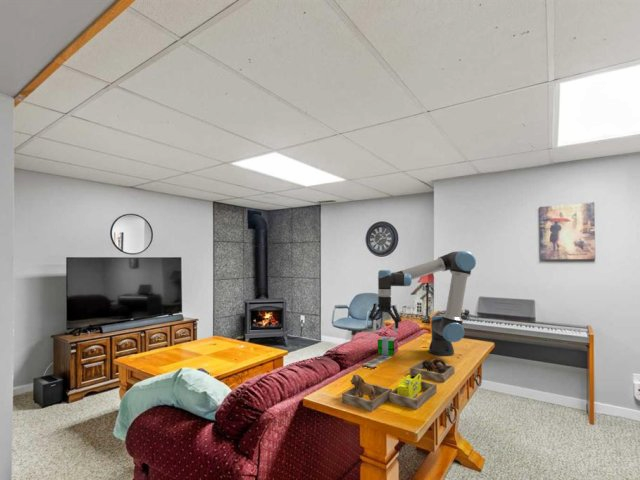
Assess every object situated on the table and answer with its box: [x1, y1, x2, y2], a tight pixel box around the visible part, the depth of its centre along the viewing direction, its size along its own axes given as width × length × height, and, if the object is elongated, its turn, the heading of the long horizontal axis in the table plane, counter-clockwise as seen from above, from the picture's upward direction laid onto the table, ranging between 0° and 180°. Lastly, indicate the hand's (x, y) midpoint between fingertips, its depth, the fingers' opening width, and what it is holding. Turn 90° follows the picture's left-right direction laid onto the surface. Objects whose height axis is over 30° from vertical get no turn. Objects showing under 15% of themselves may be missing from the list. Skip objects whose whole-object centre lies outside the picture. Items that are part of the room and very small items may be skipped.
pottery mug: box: [422, 358, 447, 374], centre depth 177 cm, size 12×10×8 cm
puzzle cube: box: [377, 336, 399, 356], centre depth 211 cm, size 10×10×10 cm
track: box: [361, 355, 393, 370], centre depth 193 cm, size 7×23×2 cm, turn 142°
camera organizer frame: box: [388, 380, 437, 410], centre depth 146 cm, size 12×22×4 cm, turn 142°
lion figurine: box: [349, 373, 376, 401], centre depth 143 cm, size 15×5×9 cm, turn 44°
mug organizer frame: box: [409, 360, 456, 383], centre depth 175 cm, size 17×17×4 cm
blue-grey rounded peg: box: [381, 338, 390, 358], centre depth 201 cm, size 4×4×11 cm
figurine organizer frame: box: [341, 382, 393, 412], centre depth 143 cm, size 14×17×4 cm
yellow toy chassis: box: [396, 374, 422, 399], centre depth 147 cm, size 16×6×8 cm, turn 146°
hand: (384, 332), depth 201 cm, fingers open, 13 cm apart
